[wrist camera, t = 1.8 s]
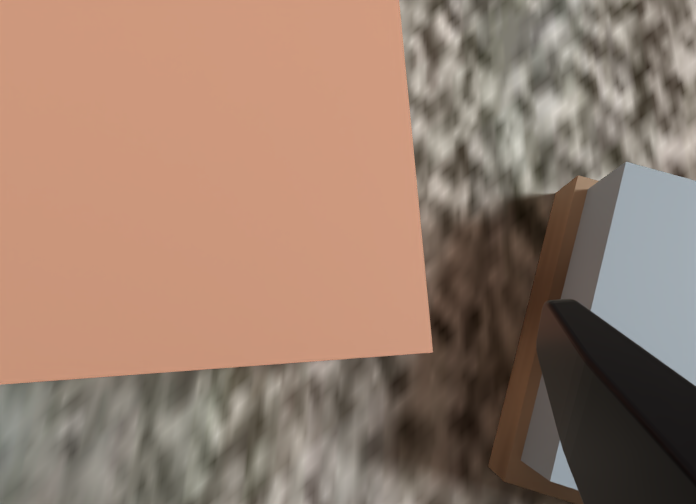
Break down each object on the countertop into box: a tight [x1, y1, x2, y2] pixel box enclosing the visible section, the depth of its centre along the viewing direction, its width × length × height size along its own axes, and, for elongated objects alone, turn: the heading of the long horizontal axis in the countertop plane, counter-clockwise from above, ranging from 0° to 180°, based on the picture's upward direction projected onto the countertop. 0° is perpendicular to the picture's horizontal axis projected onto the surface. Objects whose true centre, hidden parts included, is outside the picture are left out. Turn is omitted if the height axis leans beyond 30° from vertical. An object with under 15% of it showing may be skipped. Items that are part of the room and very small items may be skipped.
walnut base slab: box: [488, 175, 599, 504], centre depth 17 cm, size 9×9×2 cm
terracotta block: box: [0, 0, 433, 385], centre depth 13 cm, size 5×5×12 cm
